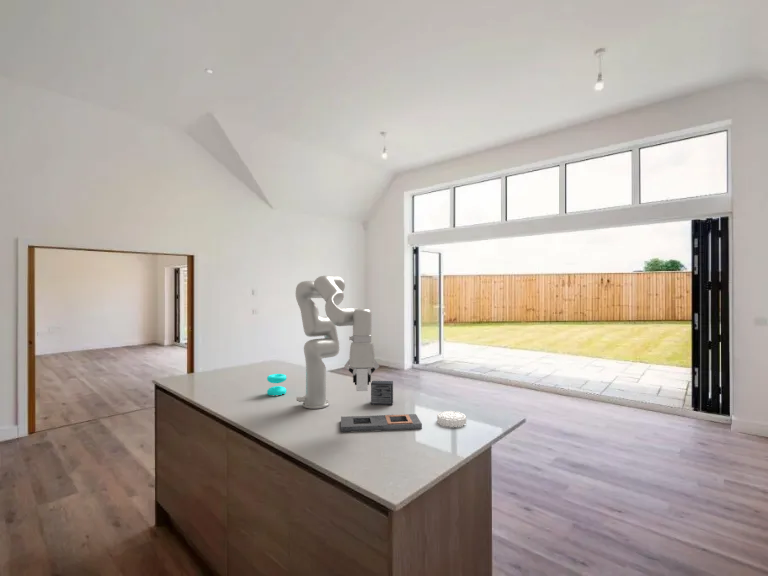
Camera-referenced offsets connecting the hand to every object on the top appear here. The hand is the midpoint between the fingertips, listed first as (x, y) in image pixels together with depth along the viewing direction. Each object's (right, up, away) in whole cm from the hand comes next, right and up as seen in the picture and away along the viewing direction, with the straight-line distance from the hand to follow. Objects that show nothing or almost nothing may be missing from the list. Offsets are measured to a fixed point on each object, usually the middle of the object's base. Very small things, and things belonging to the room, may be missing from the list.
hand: (361, 383), depth 154 cm
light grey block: (0, -2, 0) cm, 2 cm away
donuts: (-48, -18, +47) cm, 69 cm away
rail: (+8, -17, +1) cm, 19 cm away
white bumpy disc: (+37, -18, +4) cm, 41 cm away
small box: (+8, -18, +31) cm, 36 cm away
